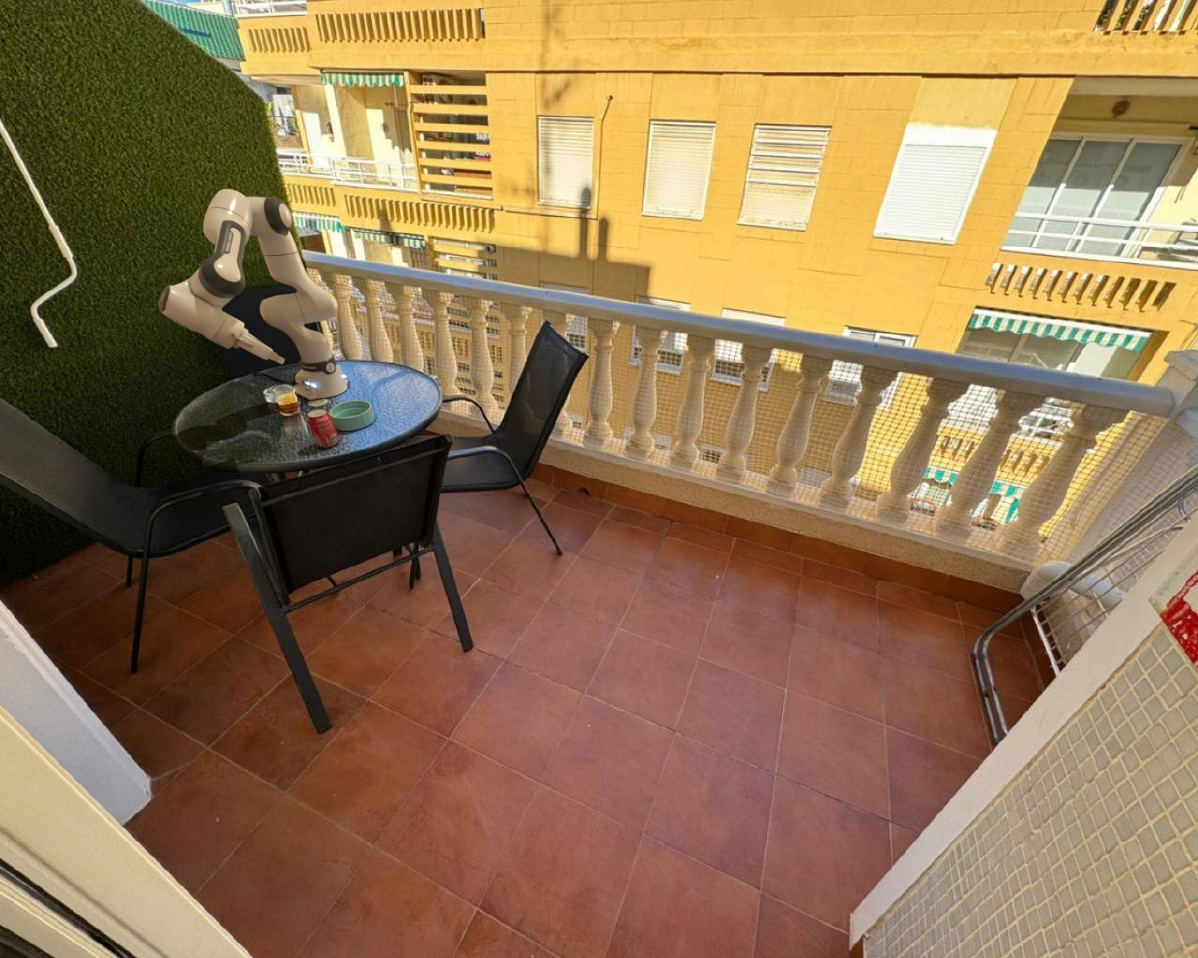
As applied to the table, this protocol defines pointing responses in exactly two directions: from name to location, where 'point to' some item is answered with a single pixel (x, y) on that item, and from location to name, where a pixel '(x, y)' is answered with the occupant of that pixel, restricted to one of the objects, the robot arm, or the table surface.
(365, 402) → the bowl
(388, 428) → the table surface
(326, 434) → the soda can
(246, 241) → the robot arm
